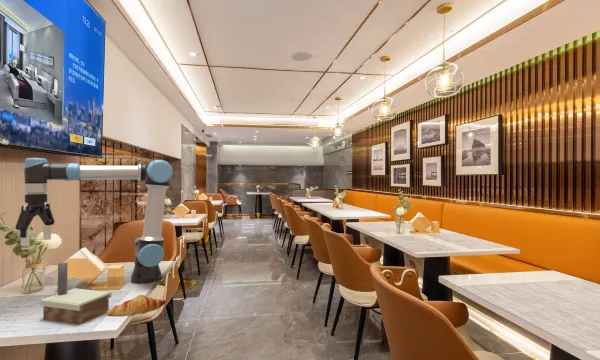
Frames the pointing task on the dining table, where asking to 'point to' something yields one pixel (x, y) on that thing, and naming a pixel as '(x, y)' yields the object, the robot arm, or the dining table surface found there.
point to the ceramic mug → (77, 284)
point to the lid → (70, 294)
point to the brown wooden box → (78, 312)
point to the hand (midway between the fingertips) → (36, 242)
